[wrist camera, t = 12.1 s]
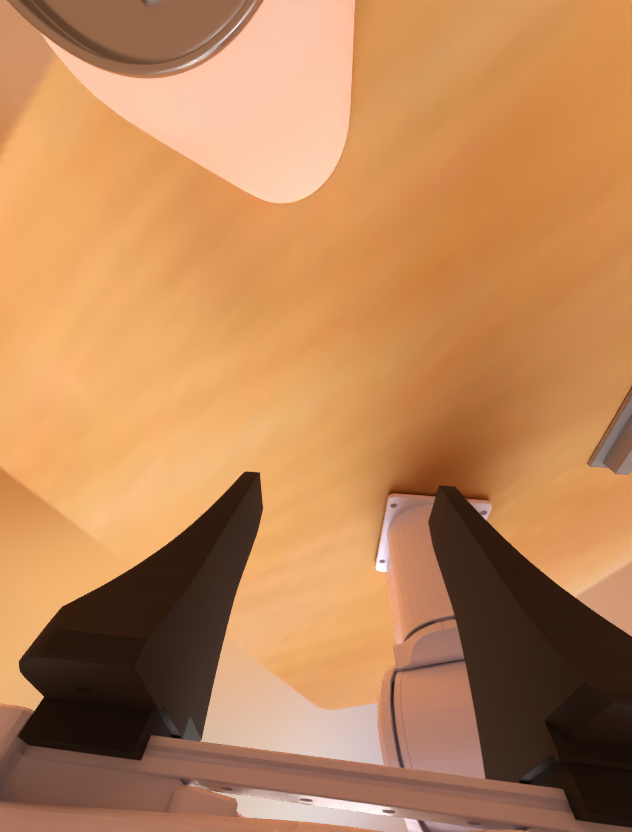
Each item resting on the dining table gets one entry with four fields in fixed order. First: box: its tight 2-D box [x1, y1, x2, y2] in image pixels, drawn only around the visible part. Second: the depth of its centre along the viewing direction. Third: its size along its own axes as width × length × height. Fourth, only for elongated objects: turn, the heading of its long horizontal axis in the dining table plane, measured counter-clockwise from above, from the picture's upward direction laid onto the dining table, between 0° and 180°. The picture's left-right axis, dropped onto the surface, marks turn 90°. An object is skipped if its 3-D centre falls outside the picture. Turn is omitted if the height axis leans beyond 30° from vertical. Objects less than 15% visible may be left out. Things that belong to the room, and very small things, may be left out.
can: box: [7, 0, 355, 203], centre depth 9 cm, size 6×6×12 cm
